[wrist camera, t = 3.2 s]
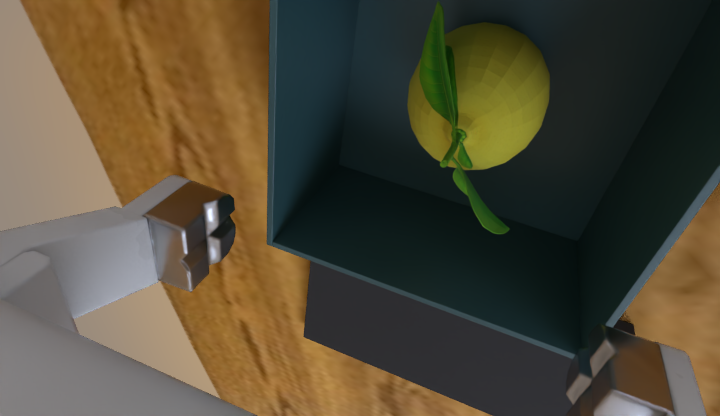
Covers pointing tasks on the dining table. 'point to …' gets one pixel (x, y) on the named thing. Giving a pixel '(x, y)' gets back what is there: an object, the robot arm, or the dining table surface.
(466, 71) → the lemon
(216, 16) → the dining table surface
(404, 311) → the mat
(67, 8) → the dining table surface
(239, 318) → the dining table surface
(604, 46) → the box
